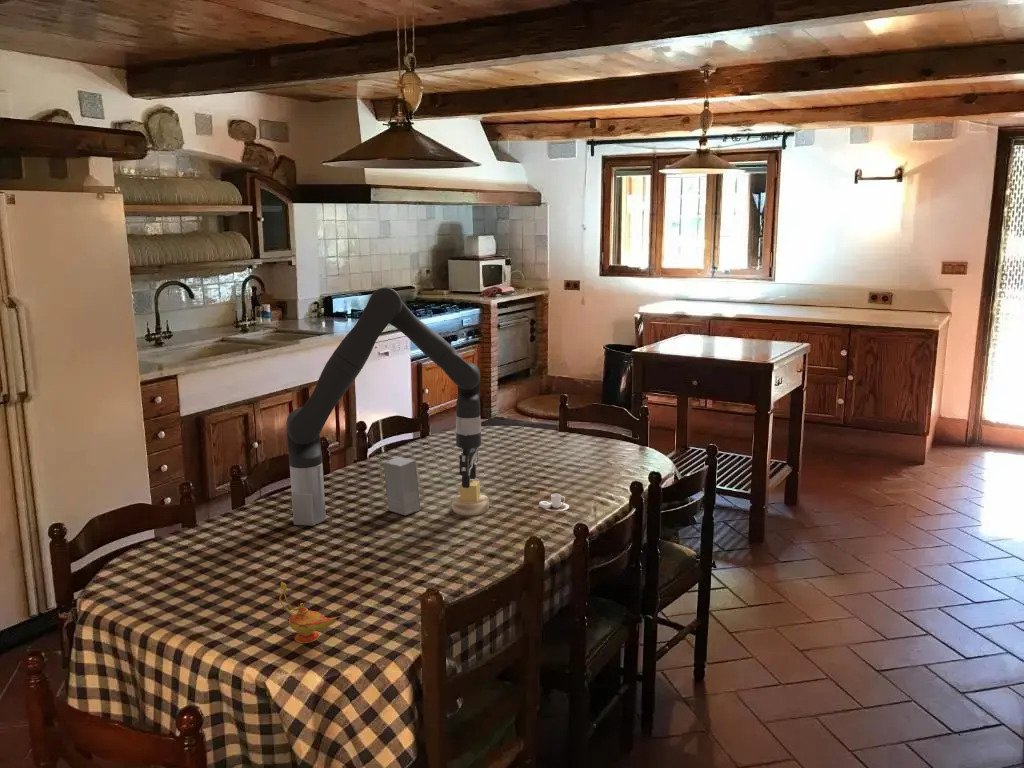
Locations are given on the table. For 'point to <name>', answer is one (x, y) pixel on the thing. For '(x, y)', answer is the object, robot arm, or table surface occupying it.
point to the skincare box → (401, 485)
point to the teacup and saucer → (554, 503)
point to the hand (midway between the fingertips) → (469, 482)
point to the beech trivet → (470, 506)
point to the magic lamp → (307, 621)
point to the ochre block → (470, 492)
